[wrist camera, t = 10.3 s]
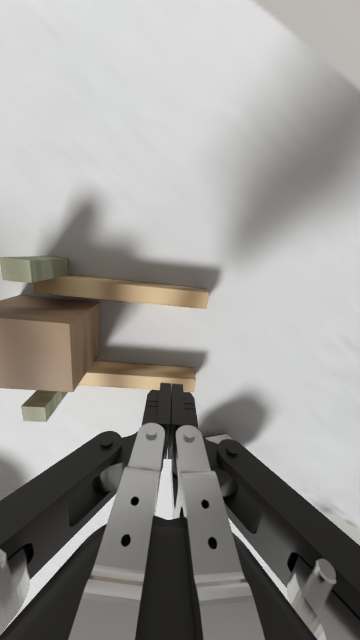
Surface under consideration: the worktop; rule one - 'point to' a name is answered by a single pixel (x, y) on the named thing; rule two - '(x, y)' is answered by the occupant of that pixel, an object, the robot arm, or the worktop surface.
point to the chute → (57, 281)
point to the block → (47, 342)
